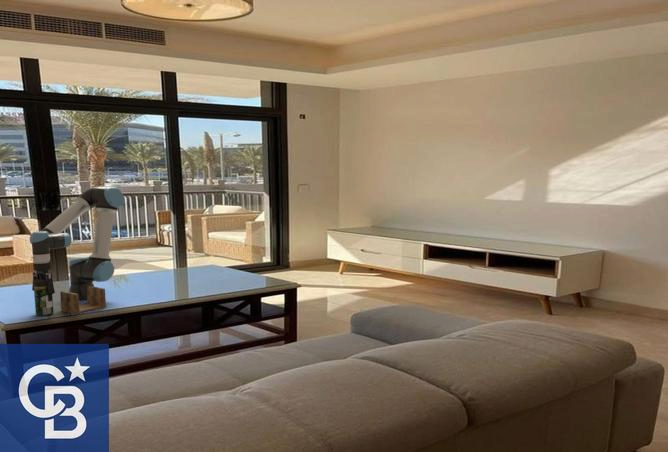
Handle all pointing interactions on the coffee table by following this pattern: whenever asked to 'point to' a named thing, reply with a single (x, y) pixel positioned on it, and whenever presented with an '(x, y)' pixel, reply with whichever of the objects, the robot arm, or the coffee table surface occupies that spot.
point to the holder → (94, 303)
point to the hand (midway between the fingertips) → (44, 306)
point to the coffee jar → (41, 298)
